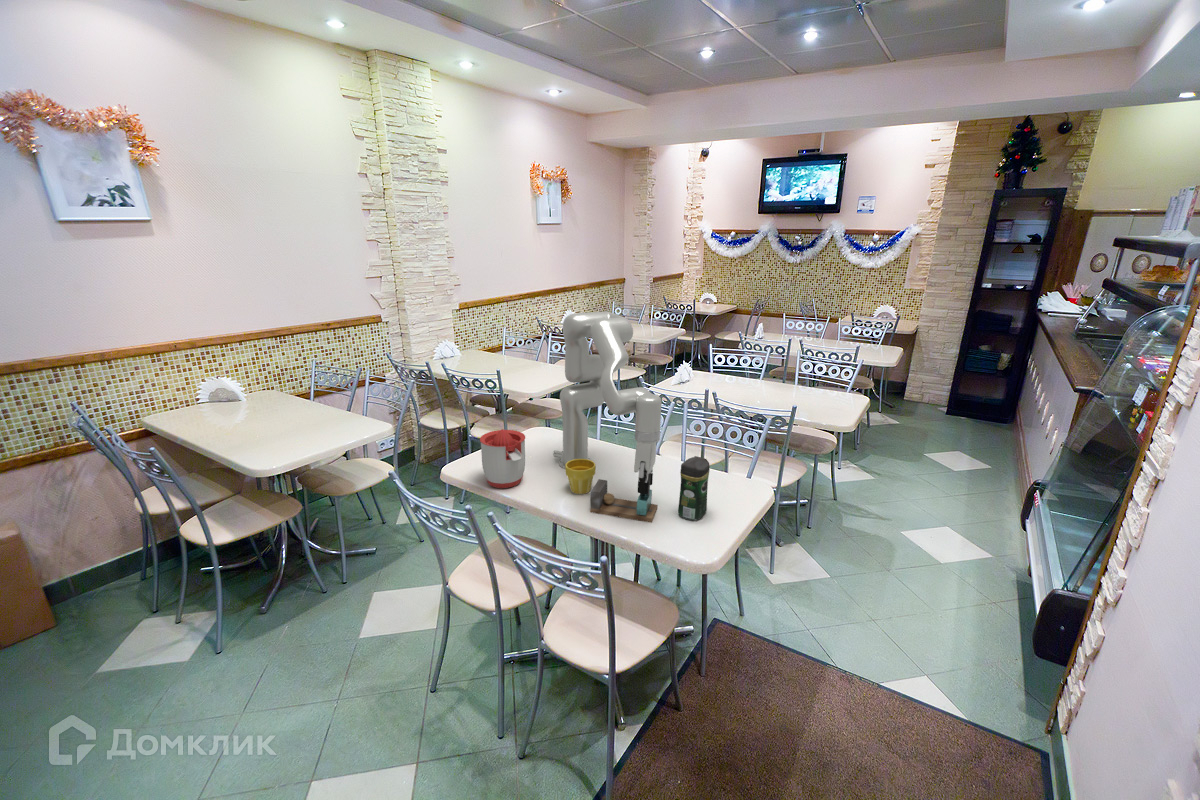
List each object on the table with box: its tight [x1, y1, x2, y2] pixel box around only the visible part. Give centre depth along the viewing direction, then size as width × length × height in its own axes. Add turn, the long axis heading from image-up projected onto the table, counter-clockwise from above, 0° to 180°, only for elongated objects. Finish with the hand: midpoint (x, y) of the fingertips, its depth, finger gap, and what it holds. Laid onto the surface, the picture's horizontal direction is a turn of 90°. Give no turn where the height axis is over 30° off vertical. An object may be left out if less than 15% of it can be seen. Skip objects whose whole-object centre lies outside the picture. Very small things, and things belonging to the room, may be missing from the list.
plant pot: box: [564, 459, 596, 495], centre depth 177 cm, size 10×10×10 cm
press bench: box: [589, 478, 659, 523], centre depth 164 cm, size 20×9×8 cm, turn 73°
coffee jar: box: [677, 455, 710, 521], centre depth 161 cm, size 10×8×19 cm
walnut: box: [603, 492, 615, 504], centre depth 166 cm, size 4×4×4 cm
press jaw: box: [636, 470, 653, 516], centre depth 160 cm, size 4×8×16 cm, turn 163°
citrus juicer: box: [479, 428, 526, 490], centre depth 180 cm, size 16×17×20 cm
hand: (645, 488), depth 161 cm, fingers open, 5 cm apart
